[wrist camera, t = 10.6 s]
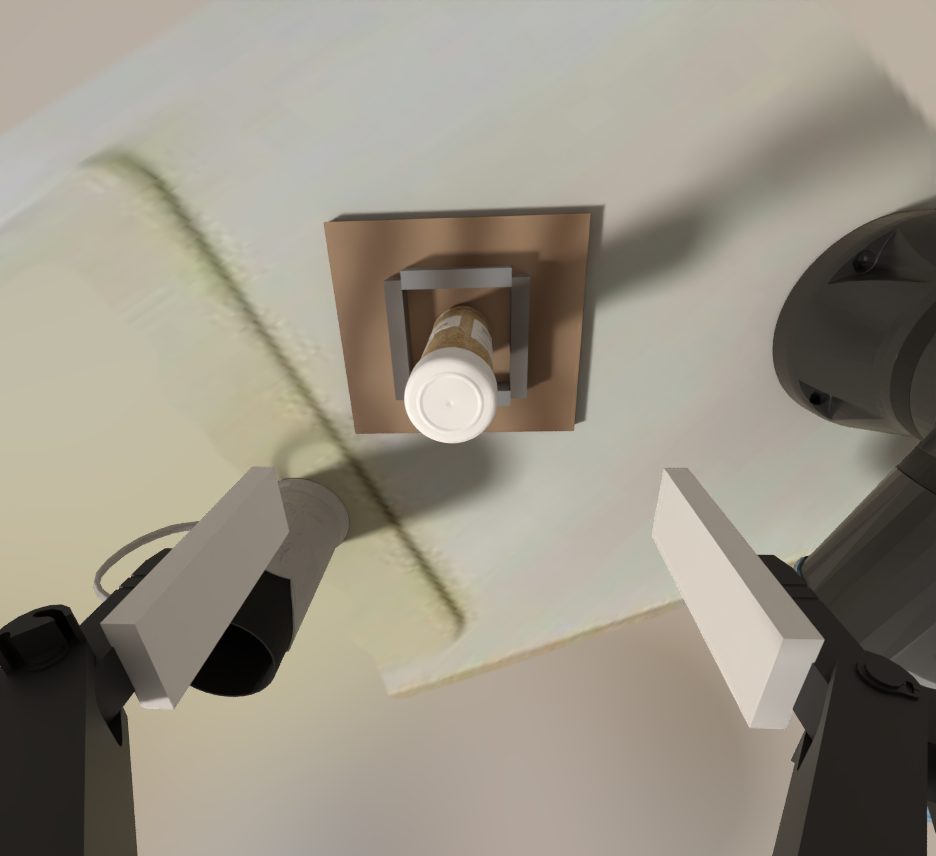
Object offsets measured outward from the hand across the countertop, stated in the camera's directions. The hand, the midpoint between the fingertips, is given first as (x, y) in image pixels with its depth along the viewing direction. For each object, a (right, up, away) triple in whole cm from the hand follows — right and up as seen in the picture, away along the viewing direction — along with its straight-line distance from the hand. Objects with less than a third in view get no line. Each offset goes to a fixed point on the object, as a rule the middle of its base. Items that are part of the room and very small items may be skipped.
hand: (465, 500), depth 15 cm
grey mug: (-18, -5, +27) cm, 33 cm away
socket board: (0, +10, +19) cm, 21 cm away
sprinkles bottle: (0, +9, +18) cm, 21 cm away
